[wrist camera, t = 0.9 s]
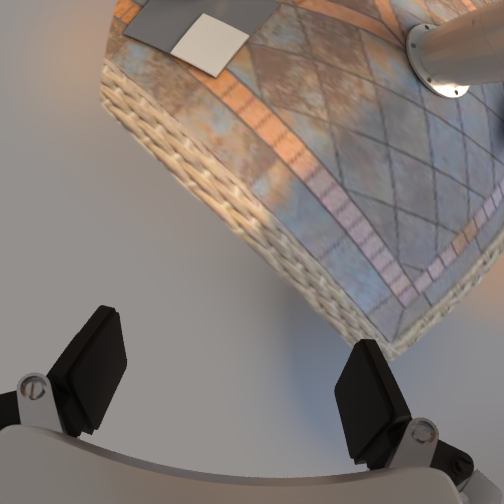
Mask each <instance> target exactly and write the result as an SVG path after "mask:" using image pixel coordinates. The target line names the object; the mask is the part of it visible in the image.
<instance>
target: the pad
mask: <svg viewBox="0 0 504 504" xmlns="http://www.w3.org/2000/svg"><path fill="white" fill-rule="evenodd" d="M248 38H249V35H247V34H246V33H244V32H242V31H240V30H238V29H236V28H234V27H232V26H230V25H228V24H226V23H224V22H222V21H219V20H217V19H215V18H213V17H211V16H208V15H206V14H204V13H203V14H202V15H201V16H200V17H199V19H198V20H197V21H196V22H195V23H194V24H193V25H192V27H191V28H190V29H189V30H188V31H187V32H186V34H185V35H184V36H183V37H182V39H181V40H180V41H179V42H178V44H177V45H176V46H175V47H174V49H173V50H172V51H171V54H172V55H174V56H176V57H178V58H180V59H182V60H184V61H186V62H188V63H190V64H192V65H194V66H196V67H198V68H200V69H201V70H203V71H205V72H207V73H209V74H211V75H212V76H214V77H217V75H218V74H219V73H220V71H221V70H222V69H223V68H224V66H225V65H226V64H227V63H228V61H229V60H230V59H231V58H232V56H233V55H234V54H235V53H236V52H237V50H238V49H239V48H240V47H241V46H242V45H243V43H244V42H245V41H246V40H247V39H248Z"/></svg>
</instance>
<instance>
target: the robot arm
mask: <svg viewBox="0 0 504 504" xmlns="http://www.w3.org/2000/svg"><path fill="white" fill-rule="evenodd" d="M406 51H407V55H408V58H409V61H410V63H411V66H412V68H413V69H414V71H415V73H416V74H417V76H418V77H419V79H420V80H421V81H422V82H423V83H424V85H425V86H427V87H428V88H429V89H430V90H431V91H433V92H434V93H436V94H437V95H439V96H442V97H445V98H458V97H460V96H462V95H464V94H465V93H466V92H467V90H468V88H469V86H471V85H479V84H488V83H499V82H504V0H499V1H496V2H493V3H491V4H488V5H486V6H483V7H481V8H478V9H476V10H473V11H471V12H468V13H466V14H464V15H461V16H459V17H457V18H455V19H452V20H450V21H448V22H446V23H444V24H442V25H440V26H436V25H433V24H427V23H424V24H419V25H417V26H415V27H414V28H412V29H411V30H410V32H409V33H408V36H407V39H406ZM126 367H127V358H126V352H125V347H124V342H123V335H122V330H121V323H120V316H119V313H118V312H116V310H115V308H112V307H108V306H104V305H101V306H99V308H98V309H97V310H96V311H95V313H94V314H93V315H92V316H91V317H90V319H89V320H88V321H87V323H86V324H85V325H84V326H83V328H82V329H81V330H80V332H79V333H78V334H77V335H76V336H75V337H74V338H73V340H72V341H71V342H70V344H69V345H68V346H67V347H66V349H65V350H64V352H63V353H62V354H61V356H60V357H59V358H58V360H57V361H56V363H55V364H54V365H53V367H52V368H51V370H50V371H49V373H48V374H47V375H46V376H44V375H43V374H40V373H30V374H27V375H25V376H24V377H22V378H21V380H20V381H19V382H18V385H17V390H16V391H12V392H8V393H4V394H0V504H501V501H502V493H501V491H500V489H499V488H498V487H497V486H496V485H494V484H493V483H492V482H491V481H490V480H489V479H488V478H487V477H486V476H484V475H483V474H482V473H481V472H480V471H479V470H478V469H477V470H475V471H474V464H473V460H472V458H471V457H470V456H469V455H468V454H467V453H465V452H463V451H461V450H459V449H457V448H455V447H453V446H451V445H449V444H447V443H445V442H443V441H441V440H439V439H438V437H439V433H438V429H437V427H436V425H434V423H433V422H432V421H430V420H428V419H426V418H415V419H412V417H411V413H410V411H409V409H408V406H407V404H406V402H405V399H404V397H403V395H402V393H401V391H400V389H399V387H398V385H397V382H396V380H395V378H394V376H393V374H392V372H391V370H390V368H389V366H388V364H387V362H386V360H385V358H384V356H383V354H382V352H381V350H380V348H379V346H378V344H377V342H376V341H375V340H374V339H361V340H360V341H359V342H357V343H356V344H355V345H354V348H353V350H352V352H351V354H350V357H349V359H348V361H347V363H346V365H345V367H344V369H343V371H342V374H341V376H340V378H339V380H338V382H337V384H336V386H335V390H334V392H335V397H336V402H337V406H338V409H339V413H340V417H341V422H342V425H343V429H344V434H345V438H346V442H347V447H348V451H349V455H350V457H351V458H352V459H354V462H355V465H357V464H364V463H366V464H367V468H368V469H367V470H366V471H365V472H358V473H351V474H342V475H332V476H321V477H305V478H304V477H303V478H259V477H240V476H229V475H219V474H211V473H203V472H197V471H191V470H185V469H180V468H174V467H170V466H165V465H160V464H156V463H152V462H148V461H144V460H140V459H136V458H133V457H130V456H126V455H123V454H120V453H117V452H113V451H110V450H107V449H104V448H101V447H98V446H95V445H93V444H90V443H87V442H84V441H82V440H80V438H79V436H80V435H81V432H85V433H87V434H90V435H92V434H93V431H94V429H95V430H97V429H98V428H99V427H100V424H101V422H102V420H103V417H104V415H105V413H106V410H107V408H108V406H109V404H110V402H111V400H112V397H113V395H114V393H115V391H116V389H117V386H118V384H119V382H120V380H121V378H122V375H123V374H124V372H125V370H126Z"/></svg>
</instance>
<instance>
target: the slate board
mask: <svg viewBox="0 0 504 504" xmlns="http://www.w3.org/2000/svg"><path fill="white" fill-rule="evenodd" d="M279 7H280V3H278V2H276V1H274V0H149V1H148V3H147V4H146V5H145V6H144V7H143V8H142V10H141V11H140V12H139V13H138V14H137V16H136V17H135V18H134V19H133V21H132V22H131V23H130V24H129V26H128V27H127V28H126V30H125V31H124V32H123V34H125V35H126V36H129V37H131V38H134V39H136V40H139V41H141V42H143V43H146V44H148V45H150V46H152V47H155V48H157V49H159V50H161V51H163V52H166V53H168V54H170V55H172V54H171V51H172V50H173V49H174V47H175V46H176V45H177V44H178V42H179V41H180V40H181V39H182V37H183V36H184V35H185V34H186V32H187V31H188V30H189V29H190V28H191V27H192V25H193V24H194V23H195V22H196V21H197V20H198V19H199V17H200V16H201V15H202V14H203V13H204V14H206V15H208V16H211V17H213V18H215V19H217V20H219V21H222V22H224V23H226V24H228V25H230V26H232V27H234V28H236V29H238V30H240V31H242V32H244V33H246V34H247V35H249V38H248V39H247V40H246V41H245V42H244V43H243V45H242V46H241V47H240V48H239V49H238V50H237V52H236V53H235V54H234V55H233V56H232V58H231V59H230V60H229V61H228V63H227V64H226V65H225V66H224V68H223V69H222V70H221V71H220V73H219V74H218V75H217V77H214V76H212V75H211V74H209V73H207V72H205V71H203V70H201V69H200V68H198V67H196V66H194V65H192V64H190V63H188V62H186V61H184V60H182V59H180V58H178V57H176V56H174V55H172V56H174V57H176V58H178V59H180V60H182V61H184V62H186V63H188V64H190V65H192V66H194V67H196V68H197V69H199V70H201V71H203V72H205V73H207V74H208V75H210V76H212V77H214V78H216V79H217V78H218V77H219V76H220V75H221V73H222V72H223V71H224V69H225V68H226V67H227V66H228V64H229V63H230V62H231V61H232V59H233V58H234V57H235V56H236V55H237V53H238V52H239V51H240V50H241V49H242V47H243V46H244V45H245V44H246V43H247V42H248V40H249V39H250V38H251V37H252V36H253V35H254V34H255V33H256V31H257V30H258V29H259V28H260V27H261V26H262V25H263V24H264V23H265V22H266V21H267V20H268V18H269V17H270V16H271V15H272V14H273V13H274V12H275V11H276V10H277V9H278V8H279Z"/></svg>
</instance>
